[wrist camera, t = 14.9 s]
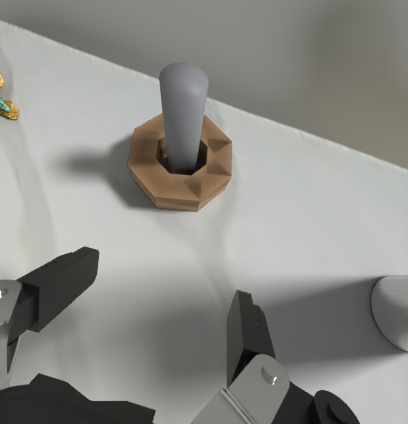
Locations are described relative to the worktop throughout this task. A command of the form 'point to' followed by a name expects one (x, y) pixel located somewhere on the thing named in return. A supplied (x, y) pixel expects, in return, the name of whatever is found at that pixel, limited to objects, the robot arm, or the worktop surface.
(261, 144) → the worktop surface
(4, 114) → the green toy figurine
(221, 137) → the brown wooden ring
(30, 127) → the worktop surface
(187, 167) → the dowel
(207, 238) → the worktop surface
